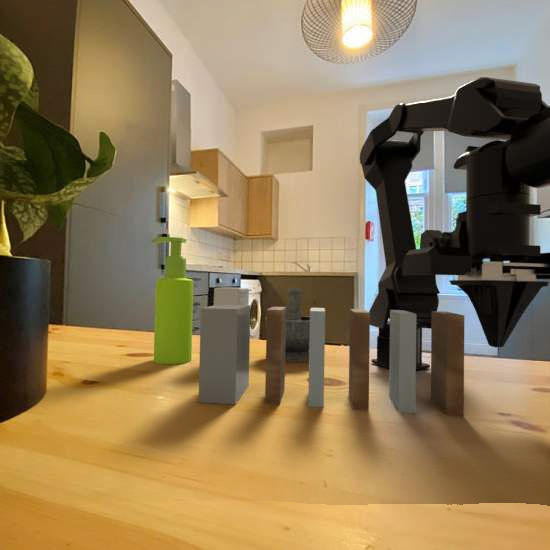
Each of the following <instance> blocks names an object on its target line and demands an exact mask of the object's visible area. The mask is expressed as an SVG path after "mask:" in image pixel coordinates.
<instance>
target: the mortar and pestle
mask: <svg viewBox="0 0 550 550" xmlns="http://www.w3.org/2000/svg"><path fill="white" fill-rule="evenodd" d="M287 296H288V298H287V299H288V300H287V306H286V342H285V363H286V362H287V363H288V362H289V363H304V362H307V361H308V362H309V339H310V315H309V316H305V315H302V306H301V305H302V304H301V303H302V301H301V298H302V297H303V291H302V290H301V289H299V288H294V287H293V288H290V289H288V290H287ZM264 329H265V333H266V332H267V316H266V317H265V318H264Z"/></svg>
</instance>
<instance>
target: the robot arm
mask: <svg viewBox="0 0 550 550" xmlns="http://www.w3.org/2000/svg"><path fill="white" fill-rule="evenodd" d="M542 96H543V93H542V92H541V86H540V85H539V84H537V83H531V82H524V81H518V80H510V79H509V80H508V79H501V78H495V77H488V76H487V77H486V76H485V77H484V76H481V77H478V78H475V79H473V80H471V81H470V82H468V83H466V84H463V85H461V86H458V88H457V89H456V91H455V93H454V94H453V95H451V96H446V97H440V98H435V99H430V100H429V99H428V100H424V101H417V102H412V103H405V102H401V103H400V104H399V103H398V104H396V105H395V106H394V107H393V109H392V111H391V113H390V114H389V116H388V117H387V118H386V119H385V120H383V121H382V122H380V123H379V124H378V125H376V126H375V127H373V128H372V129H371V130H370V132H369V134H368V135H367V138H366V140H365V142H364V143H363V145H362V147H361V149H360V152H359V163H360V166H361V168H362V174H363V176H364V179H365V180H366V182H367V183H368V184H369V185H370V186H371V187H372V188H373V189H374V191H375V194H376V195H375V196H376V202H377V208H378V209H377V211H378V218H379V224H380V232H381V237H382V239H381V240H382V246H383V252H384V253H383V254H384V261H385V268H384V271H383V273H382V275H381V276H380V279H379V280H378V285H377V288H378V289H377V290H378V291H377V292H378V293H377V294H376V295H377V296H376V297H375V299H374V300H373V304H371V307H370V308H369V310H368V312H370V327H375V328H378V335H377V337H376V358H374V359H371V363H373V364H376V365H379V366H381V367H385V368H388V369H389V366H390V310H405V311H408V312H411V313H415V314H416V370H423V369H431V364H429V363H425V362H423V329H431V322H432V311H438V309H439V303H440V300H439V295H440V289H439V287H438V284H437V278H436V277H437V275H438V276H457V279H456V280H453V279H452V280H450V279H449V283H450V284H451V285H452V286H457V287H458V288H459V289H460V290H461V291H463V292H464V294H466V295H467V297H468V298H469V300H470V303H471V304H472V306H473V308H474V310H475V313H476V315H477V318H478V321H479V323H480V326H481V328H482V331H483V333H484V336H485V339H486V341H487V344H488V346H490V347H491V348H492V347H493V348H503V347H504V346H505V345H506V343H507V341H508V340H509V339H510V336H511V334H512V332H513V331H514V329H515V328H516V326H517V324H518V323H519V321H520V319H521V318H522V317H523V314H524V313H525V311H526V310H527V309H528V307H529V306H530V305H531V303H532V302H533V300H534V299H535V298H536V296H537V295H538V293H539V292H540V290H542V288H544V287H545V288H548V287H549V285H550V284H549V283H550V281H543V280H550V252H541V245H536V244H535V245H532V244H531V243H530V241H531V239H530V237H531V236H530V235H531V234H530V231H531V229H530V228H531V227H530V226H531V225H530V222H531V219H530V218H532V217H535V216H536V217H537V216H540V215H542V214H541V210H542V208H541V206H542V205H541V204H538V203H537V204H534V203H533V204H532V203H531V202H530V200H531V199H530V198H531V197H530V195H531V194H530V193H531V191H530V190H531V188H534V189H541V188H546V187H550V105H548V104H547V103H546V102H545V101H544V100H543V97H542ZM397 132H402V133H403V132H404V133H411V134H412V136H411V137H410V138H409V141H405V140H395V139H391V138H392V137H394V136H395V135H396V134H397ZM425 132H449V133H452V134H454V135H459V136H461V137H468V138H477V139H486V140H488V139H489V140H492V141H488V142H487V143H485V144H483V145H481V146H476V145H475V146H473V145H468V146H467V147H466V148H465V151H464V152H463V153H462V154H461V155H460V156H459V157H457V159H456V161H455V162H454V164H453V169H454V170H461V171H462V170H463V171H466V180H465V181H466V182H465V183H466V185H465V186H466V187H465V188H466V189H465V192H466V193H465V194H466V196H465V197H466V198H465V201H466V202H465V211H462V212H458V213H457V217H456V219H455V220H456V221H455V228H454V230H453V231H443V232H442V231H441V230H438V229H426V230H424V231H423V232H422V233H421V234H420V240H419V241H420V242H419V243H420V244H419V248H417V245H416V240H415V234H414V233H415V232H414V226H413V223H412V216H411V210H410V204H409V197H408V192H407V185H406V180H407V178H408V177H409V175H410V173H411V171H412V169H413V162H414V160H415V159H416V157H417V156H418V155H419V153H420V152H421V141H422V139H421V138H422V135H423V134H424V133H425ZM484 260H485V261H484ZM486 260H487V261H486ZM488 260H489V261H488ZM537 280H542V281H537Z"/></svg>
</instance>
